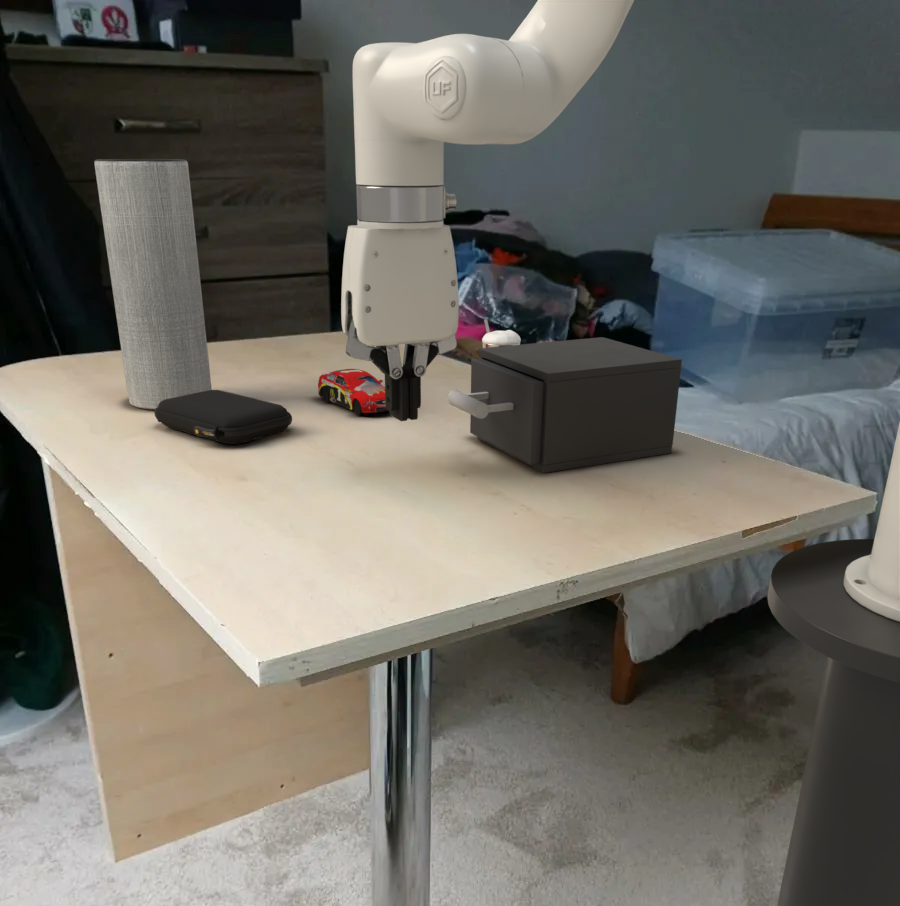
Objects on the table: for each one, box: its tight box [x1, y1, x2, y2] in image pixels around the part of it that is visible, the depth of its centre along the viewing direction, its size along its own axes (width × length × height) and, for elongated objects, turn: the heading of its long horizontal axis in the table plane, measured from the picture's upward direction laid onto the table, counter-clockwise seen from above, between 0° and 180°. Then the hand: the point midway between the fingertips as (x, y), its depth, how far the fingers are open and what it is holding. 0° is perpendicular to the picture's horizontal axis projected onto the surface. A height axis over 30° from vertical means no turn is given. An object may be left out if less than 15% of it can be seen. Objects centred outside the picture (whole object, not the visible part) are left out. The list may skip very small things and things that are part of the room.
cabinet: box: [476, 336, 683, 474], centre depth 98 cm, size 16×14×10 cm
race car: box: [317, 368, 389, 417], centre depth 114 cm, size 13×5×4 cm, turn 34°
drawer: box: [446, 358, 544, 464], centre depth 96 cm, size 19×12×8 cm, turn 117°
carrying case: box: [153, 389, 293, 445], centre depth 104 cm, size 11×3×15 cm
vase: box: [94, 158, 213, 411], centre depth 111 cm, size 10×10×27 cm
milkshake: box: [481, 318, 522, 348], centre depth 112 cm, size 5×5×10 cm
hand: (403, 416), depth 90 cm, fingers closed
